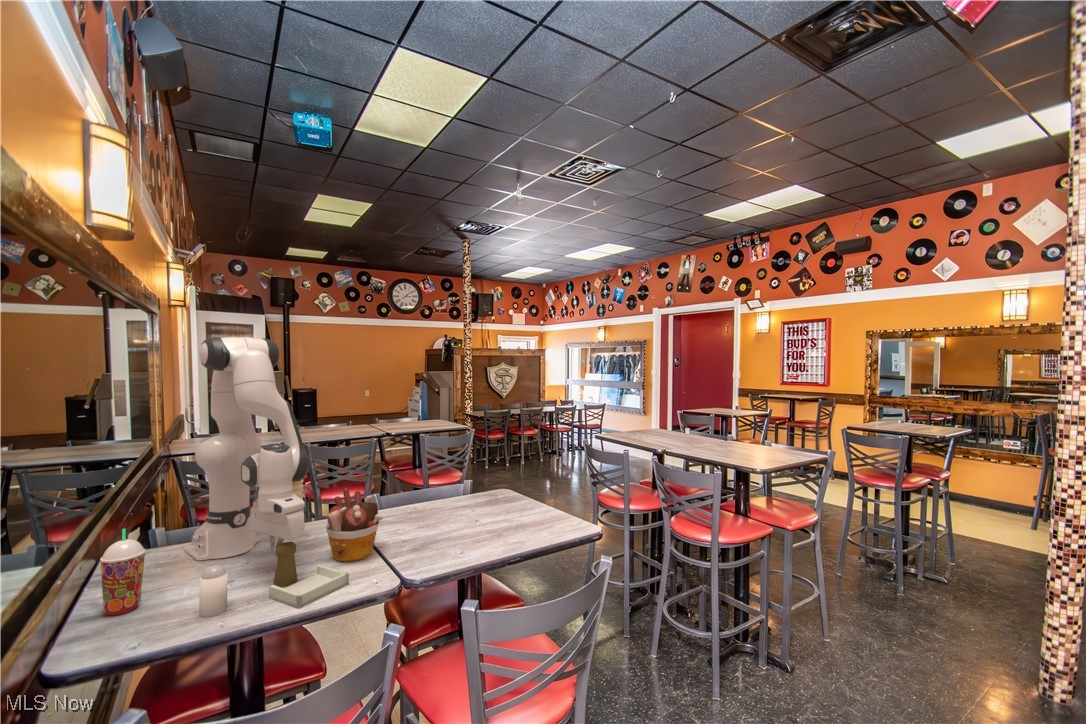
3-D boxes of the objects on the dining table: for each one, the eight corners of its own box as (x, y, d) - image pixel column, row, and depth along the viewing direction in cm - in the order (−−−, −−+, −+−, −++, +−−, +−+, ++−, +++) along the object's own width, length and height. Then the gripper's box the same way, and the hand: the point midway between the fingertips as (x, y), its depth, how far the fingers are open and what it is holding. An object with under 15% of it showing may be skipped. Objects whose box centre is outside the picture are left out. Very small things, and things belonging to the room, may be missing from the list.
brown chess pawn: (280, 589, 124) (281, 548, 125) (268, 584, 128) (269, 544, 128) (302, 581, 129) (302, 542, 130) (290, 576, 133) (290, 537, 133)
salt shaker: (194, 614, 112) (195, 567, 112) (219, 603, 117) (220, 559, 117) (207, 619, 109) (207, 572, 109) (231, 609, 114) (232, 563, 114)
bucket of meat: (387, 559, 145) (388, 496, 145) (331, 572, 135) (332, 504, 136) (370, 540, 161) (370, 483, 162) (319, 551, 151) (319, 490, 152)
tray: (269, 597, 120) (269, 586, 120) (320, 575, 133) (320, 564, 133) (298, 608, 114) (298, 596, 114) (348, 584, 128) (348, 573, 128)
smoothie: (91, 622, 108) (93, 536, 109) (108, 605, 116) (110, 526, 116) (136, 614, 112) (138, 532, 112) (149, 599, 119) (151, 521, 120)
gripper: (243, 499, 133) (242, 547, 133) (287, 508, 124) (287, 560, 123) (265, 494, 139) (264, 540, 138) (308, 503, 129) (308, 552, 129)
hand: (275, 550), depth 131 cm, fingers closed
